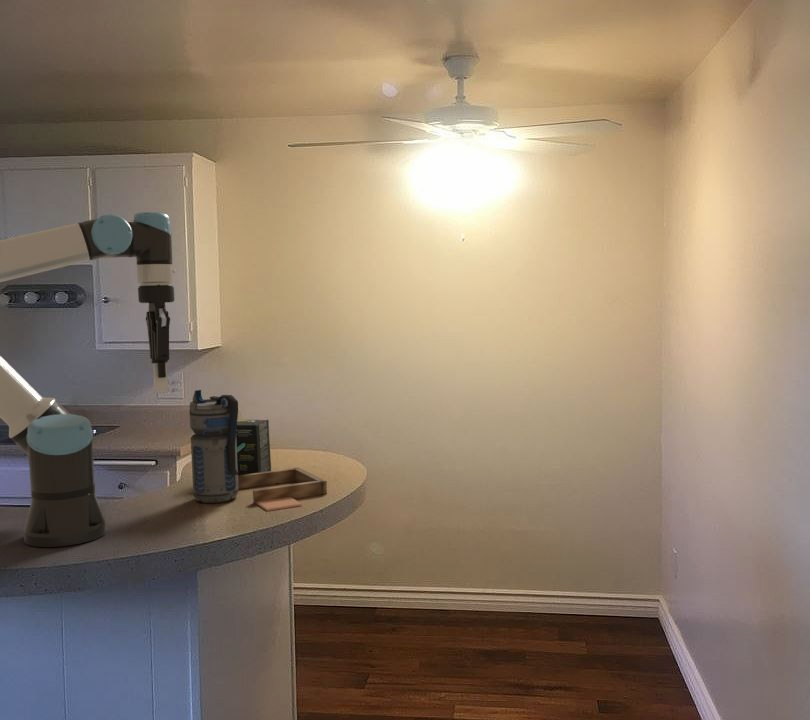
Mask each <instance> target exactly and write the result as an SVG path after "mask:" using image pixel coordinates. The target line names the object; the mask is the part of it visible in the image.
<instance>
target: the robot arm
mask: <svg viewBox="0 0 810 720" xmlns="http://www.w3.org/2000/svg"><path fill="white" fill-rule="evenodd" d="M172 236H173V235H172V230H171V221H170V217H169V215H168V214H166V213H164V212H158V211H157V212H155V211H149V212H148V211H147V212H145V211H144V212H137V213H135V214H134V216H133V220H132V221H127V220H126V219H124V218H123V217H121V216H119V215H117V214H105V215H101V216H99V217H98V218H94V219H89V220H85V221H79V222H76V223H71V224H67V225H62V226H58V227H54V228H50V229H44V230H40V231H35V232H32V233H31V232H30V233H27V234H26V233H25V234H22V235H18V236H17V235H16V236H12V237H10V238H8V237H7V238H5V239H0V283H4V282H8V281H10V280H15V279H19V278H23V277H27V276H31V275H36V274H40V273H45V272H48V271H51V270H56V269H61V268H65V267H68V266H73V265H76V264H79V263H84V262H88V261H93V260H97V259H102V258H104V259H105V258H106V259H107V258H135V259H136V279H137V283H138V284H140V285H139V286H138V288H137V294H138V302H139V303H140V304H148V311H146V316H145V321H146V327H147V328H146V329H147V336H148V337H147V338H148V347H149V358H150V360H151V364H152V367H153V368H152V369H153V372H152V373H153V390H154V391H153V392H154V393H155V394H159V393H169V380H168V379H169V376H168V361H169V360H170V324H171V323H170V322H171V318H170V315H169V311H168V310H167V309H166V303H174V302H175V286H173V285H171V283H173V282H174V274H175V273H176V269H175V268H173V246H172V245H173V244H172ZM0 419H1V420H2V421H3V422H4V423H5V424H6V425H7V426H8V438H10V440H12V441H13V443H14V444H16V446H18V448H20V449H21V450H22V451H23V452H24V453H25V454H26V455H27V456H28V463H29V465H28V467H29V481H30V494H31V499H30V500H31V503H30V505H29V510H28V513H27V516H26V521H25V525H24V526H23V527H24V528H23V542H24V543H25V544H26V545H27V546H31V547H36V548H37V547H39V548H59V547H68V546H74V545H79V544H84V543H87V542H91V541H93V540H97V539H100V538H101V537H103V536H105V535H106V533H107V532H108V530H107V527H108V526H107V519H106V517H105V515H104V512H103V510H102V508H101V505H100V502H99V500H98V498H97V495H96V494H97V493H96V483H95V481H96V479H95V468H94V467H95V465H94V449H93V448H94V447H93V438H94V431H93V429H92V424H91V421H90V420H89V419H88V418H87V417H85V416H83V415H77V414H74V413H73V414H71V413H70V412H69V411H68V410H67V409H66V408H65V407H64V406H63V405H62V404H60V402H59V401H58V400H57V399H56V398H54V397H44V396H42V395H41V394H40V393H39V392H38V391H37V390H36V389H35V388H34V387H33V386H32V385H31V384H29V382H27V380H26V379H25V378H24V377H23V376H22V375H21V374H20V373H19V372H18V371H17V370H16V369H15V368H14V367H13V366H12V365H10V363H9V362H8V361H7V360H6V359H5V358H4V357H2V355H0Z"/></svg>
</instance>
